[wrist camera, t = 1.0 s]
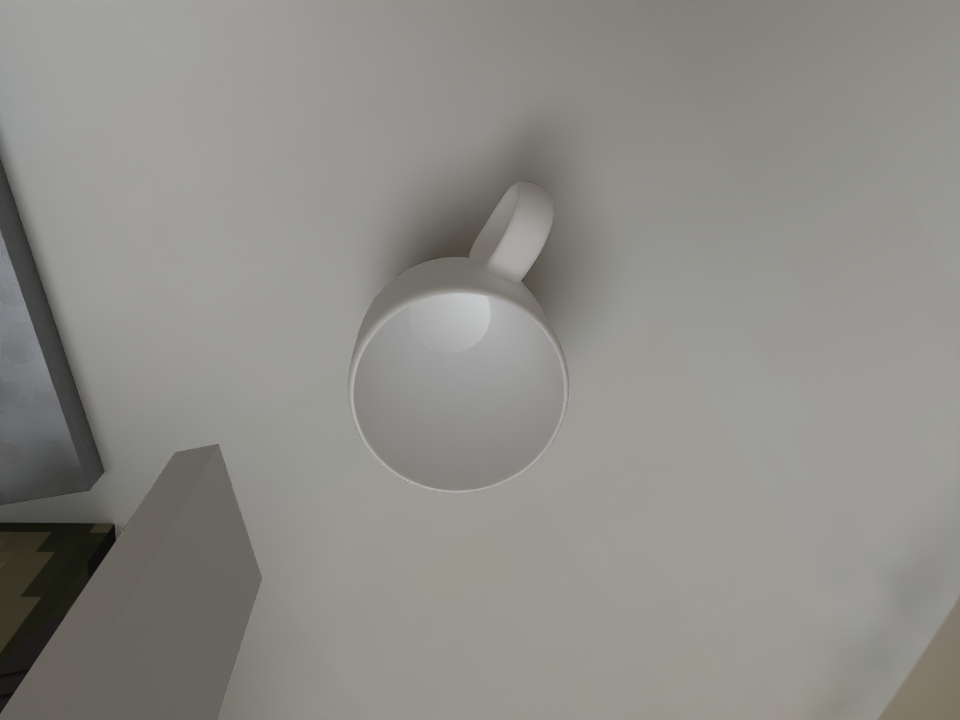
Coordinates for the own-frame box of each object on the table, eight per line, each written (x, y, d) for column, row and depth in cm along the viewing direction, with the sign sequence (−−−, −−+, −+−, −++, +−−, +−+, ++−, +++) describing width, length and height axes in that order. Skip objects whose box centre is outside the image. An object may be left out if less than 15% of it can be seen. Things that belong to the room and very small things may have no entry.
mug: (490, 414, 43) (513, 525, 32) (341, 354, 41) (312, 451, 31) (594, 202, 40) (658, 248, 29) (436, 129, 38) (442, 148, 27)
